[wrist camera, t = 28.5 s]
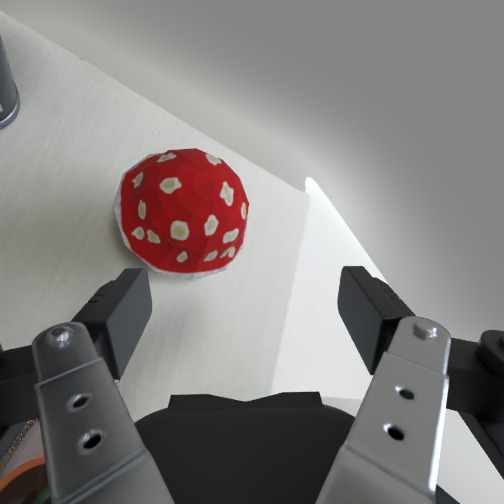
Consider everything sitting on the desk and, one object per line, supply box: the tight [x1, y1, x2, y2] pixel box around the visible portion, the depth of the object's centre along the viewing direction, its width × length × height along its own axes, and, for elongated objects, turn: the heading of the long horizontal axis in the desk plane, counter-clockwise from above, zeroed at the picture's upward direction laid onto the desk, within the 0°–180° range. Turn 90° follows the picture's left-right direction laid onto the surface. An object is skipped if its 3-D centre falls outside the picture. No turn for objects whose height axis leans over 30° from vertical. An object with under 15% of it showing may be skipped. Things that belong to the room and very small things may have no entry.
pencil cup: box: [0, 420, 50, 504], centre depth 20 cm, size 6×6×16 cm
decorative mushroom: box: [113, 148, 249, 280], centre depth 31 cm, size 14×14×15 cm
